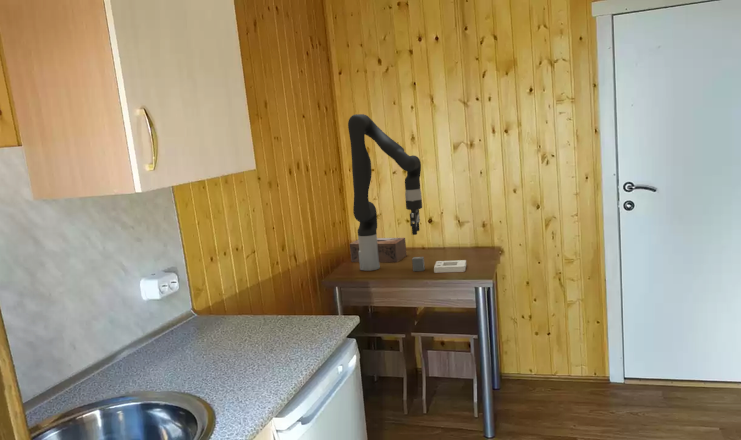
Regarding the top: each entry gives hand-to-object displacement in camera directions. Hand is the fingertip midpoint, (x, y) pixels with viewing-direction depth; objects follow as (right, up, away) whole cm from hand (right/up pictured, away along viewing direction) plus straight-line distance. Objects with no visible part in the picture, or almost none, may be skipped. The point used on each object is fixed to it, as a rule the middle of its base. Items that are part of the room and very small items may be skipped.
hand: (416, 232), depth 274 cm
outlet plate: (+16, -17, -1) cm, 23 cm away
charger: (+2, -18, +3) cm, 18 cm away
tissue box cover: (-17, -15, +34) cm, 41 cm away
